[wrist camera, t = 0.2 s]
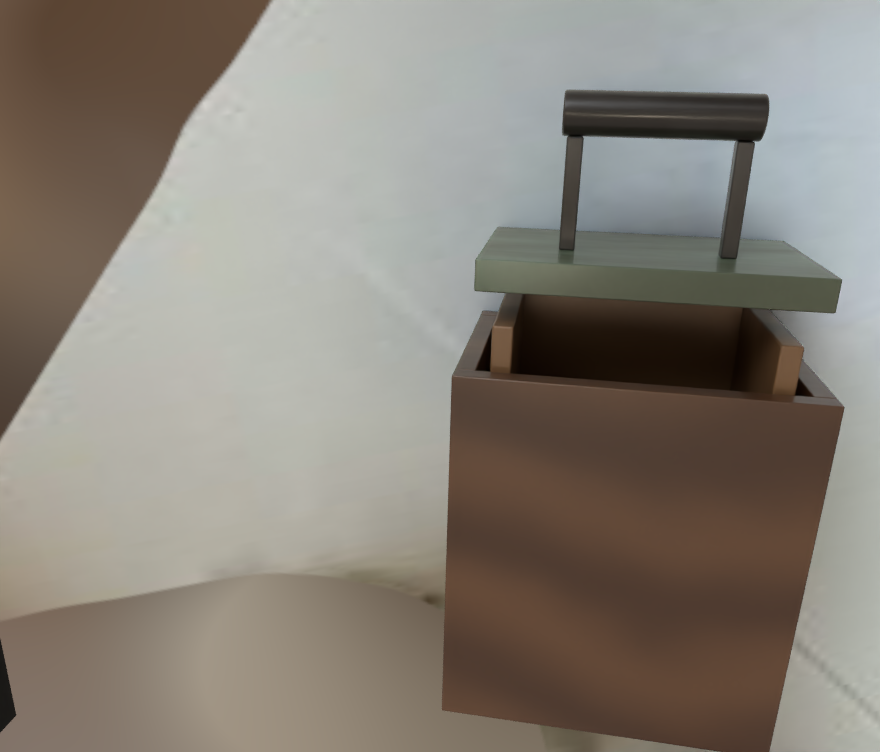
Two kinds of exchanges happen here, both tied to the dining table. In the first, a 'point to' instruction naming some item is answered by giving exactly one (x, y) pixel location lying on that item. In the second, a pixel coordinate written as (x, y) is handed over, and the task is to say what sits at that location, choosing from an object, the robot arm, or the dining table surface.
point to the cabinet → (629, 550)
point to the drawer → (653, 270)
